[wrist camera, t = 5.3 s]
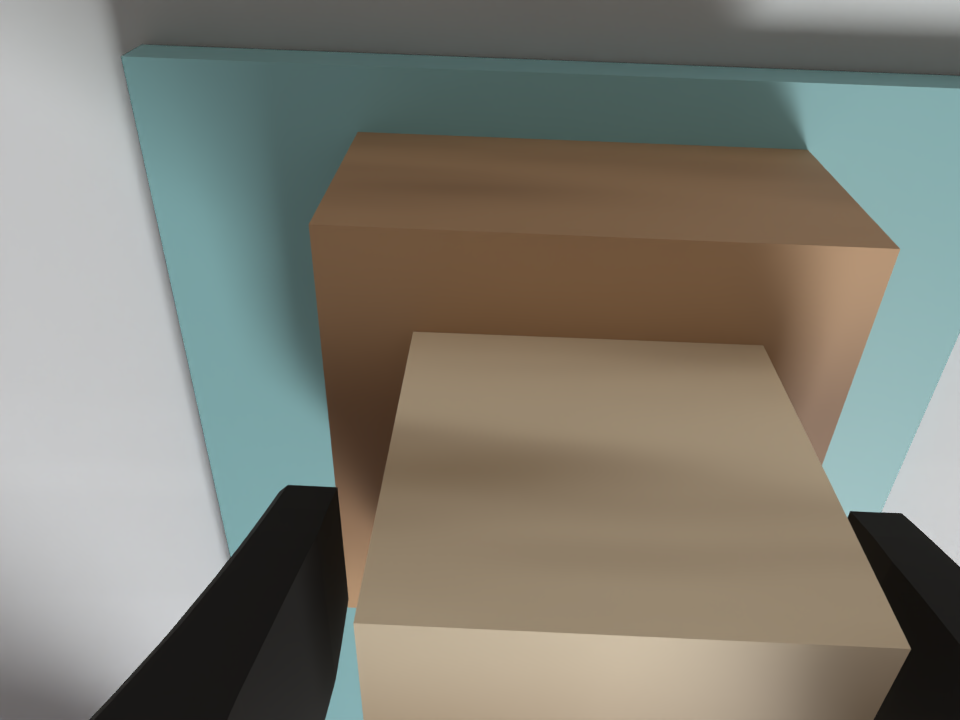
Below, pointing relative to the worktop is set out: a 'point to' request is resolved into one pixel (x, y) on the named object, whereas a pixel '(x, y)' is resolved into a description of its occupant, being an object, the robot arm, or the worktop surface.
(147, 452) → the worktop surface
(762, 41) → the worktop surface
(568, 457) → the maple block
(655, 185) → the walnut block
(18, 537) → the worktop surface
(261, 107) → the build board
